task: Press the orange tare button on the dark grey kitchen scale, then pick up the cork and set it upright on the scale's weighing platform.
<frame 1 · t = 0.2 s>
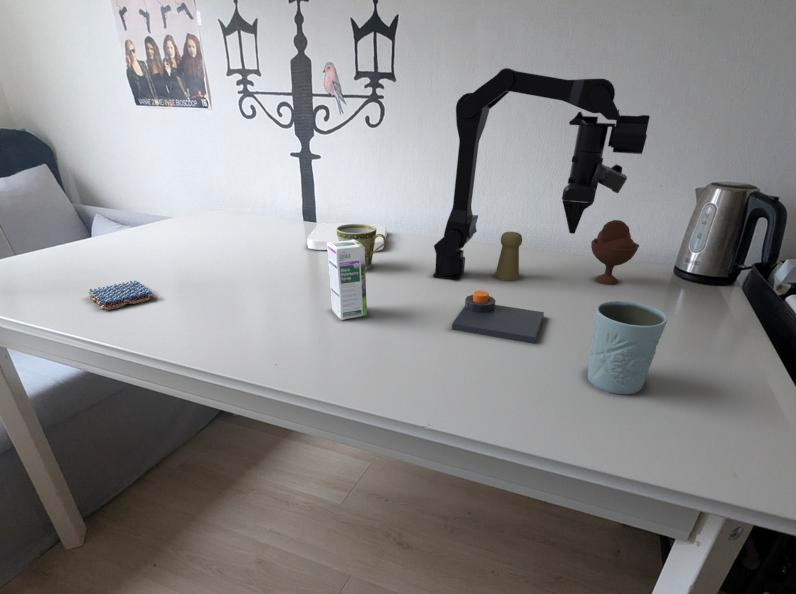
hand: (573, 228, 107), 15 cm above the table, tool pointing down, fingers open, 9 cm apart
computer: (349, 241, 148), on the table
ceramic cup: (363, 269, 126), on the table
light blue embossed pot: (612, 381, 80), on the table
tare button: (480, 297, 101), point 4 cm above the table, slide at 0.1 cm
syrup box: (349, 314, 100), on the table
cork: (506, 277, 123), on the table
scale: (498, 323, 98), on the table
woven mat: (123, 299, 104), on the table
ice cream bowl: (606, 281, 122), on the table
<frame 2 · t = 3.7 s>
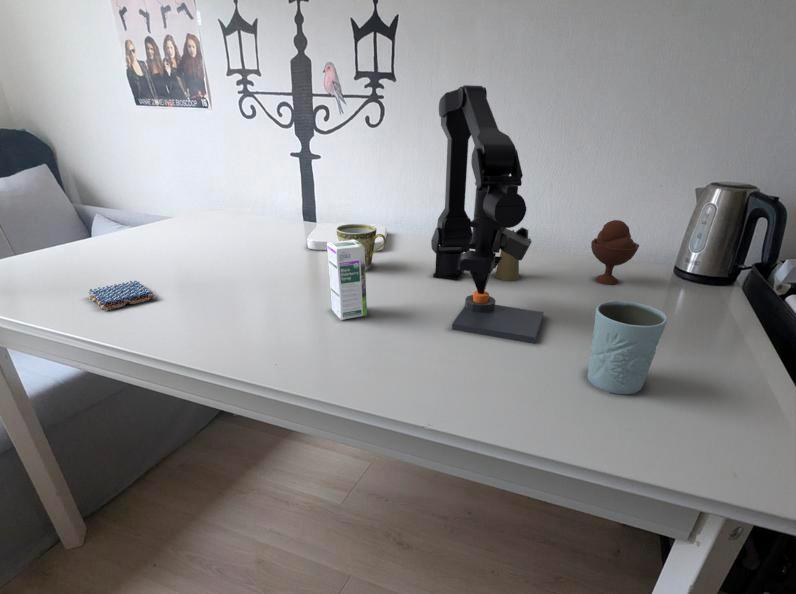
hand: (481, 293, 100), 4 cm above the table, tool pointing down, fingers closed, pressing on tare button
tare button: (480, 297, 101), point 4 cm above the table, slide at 0.1 cm, touching gripper
everything else where it was.
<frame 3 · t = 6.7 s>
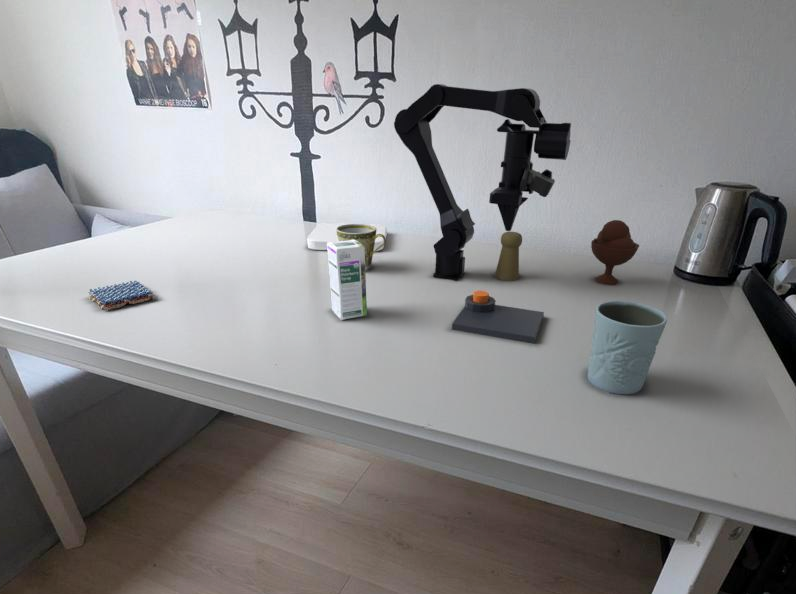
hand: (508, 230, 112), 13 cm above the table, tool pointing down, fingers closed
tare button: (480, 297, 101), point 4 cm above the table, slide at 0.1 cm
everything else where it was.
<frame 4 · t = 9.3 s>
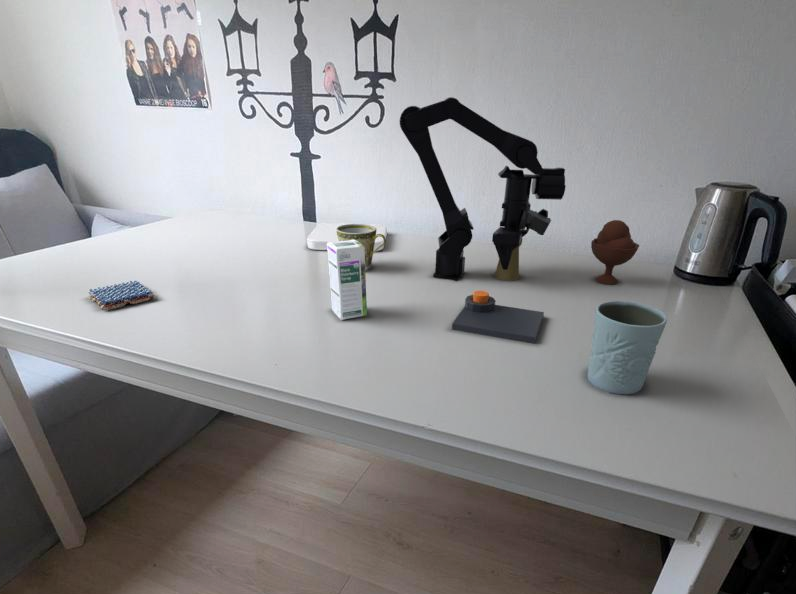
hand: (508, 264, 121), 3 cm above the table, tool pointing down
cork: (506, 277, 123), on the table, touching gripper
everything else where it was.
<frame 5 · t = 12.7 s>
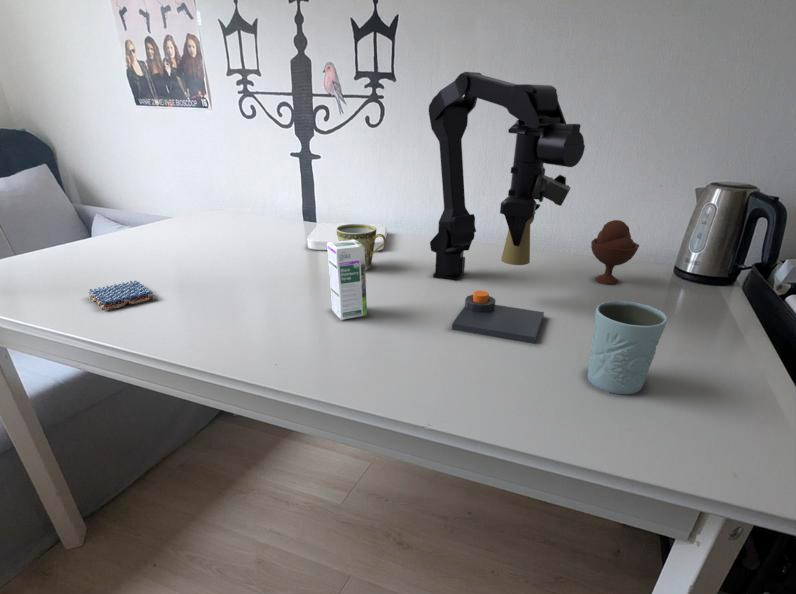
hand: (518, 242, 101), 13 cm above the table, tool pointing down, fingers closed on cork, 4 cm apart
cork: (515, 261, 103), point 9 cm above the table, touching gripper
everything else where it was.
when the fingers open (5 cm above the table, at t = 16.0 s): cork stays where it is, resting on scale.
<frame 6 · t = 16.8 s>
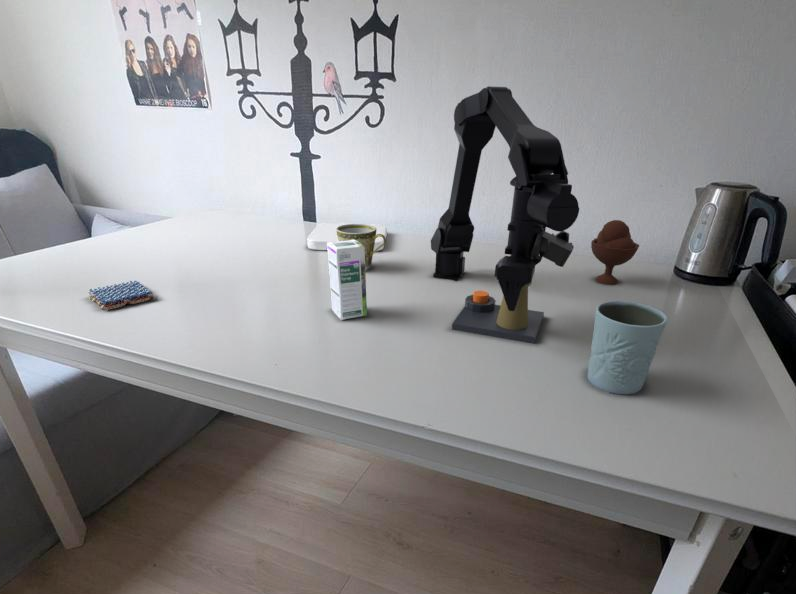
hand: (515, 301, 92), 6 cm above the table, tool pointing down, fingers open, 9 cm apart
cork: (511, 324, 95), point 1 cm above the table, touching scale
everything else where it was.
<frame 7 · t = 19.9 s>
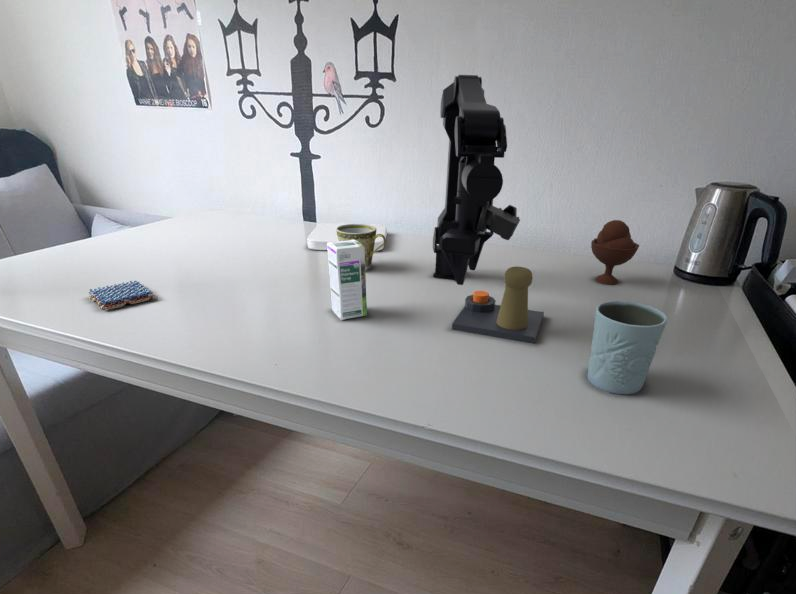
hand: (466, 277, 93), 9 cm above the table, tool pointing down, fingers open, 9 cm apart
nothing on the table moved.
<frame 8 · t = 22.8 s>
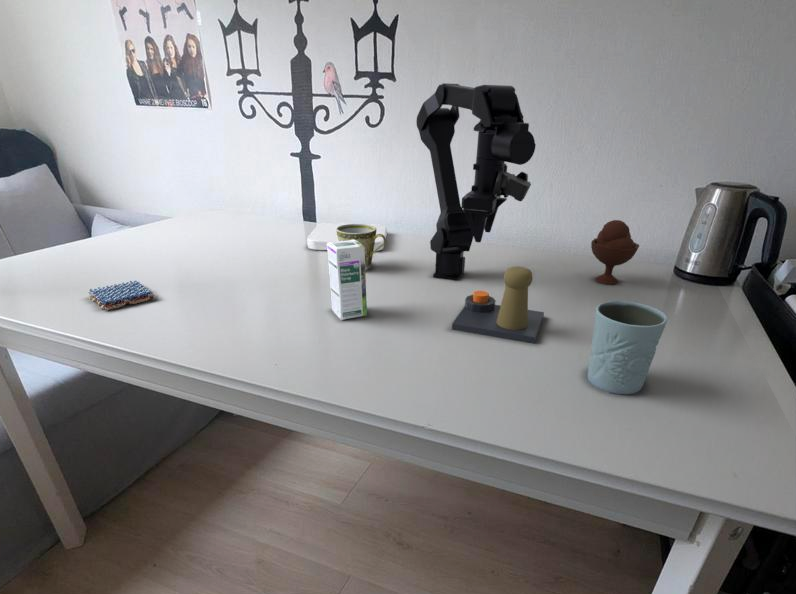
hand: (483, 237, 105), 13 cm above the table, tool pointing down, fingers open, 9 cm apart
nothing on the table moved.
at the end: tare button pushed in 0.9 cm at the most during the clip, back to where it started at the end; cork inside the target area on the scale (2.8 cm from its centre), point 1.2 cm above the scale's base; cork tilted 0° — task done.
